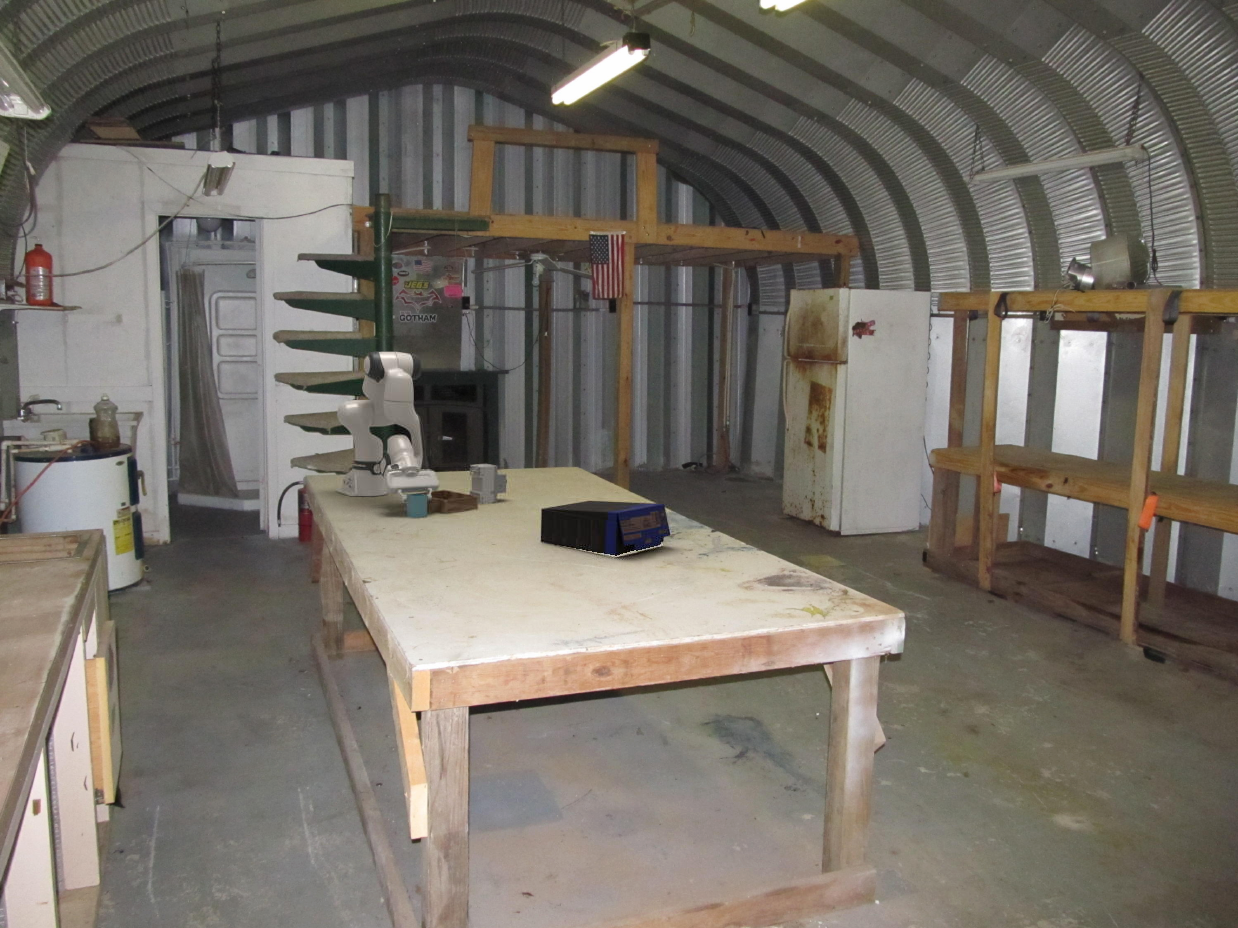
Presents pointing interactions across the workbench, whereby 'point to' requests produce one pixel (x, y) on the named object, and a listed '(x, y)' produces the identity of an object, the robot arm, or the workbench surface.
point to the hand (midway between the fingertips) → (417, 500)
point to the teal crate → (416, 505)
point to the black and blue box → (605, 526)
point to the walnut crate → (451, 501)
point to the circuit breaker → (487, 482)
